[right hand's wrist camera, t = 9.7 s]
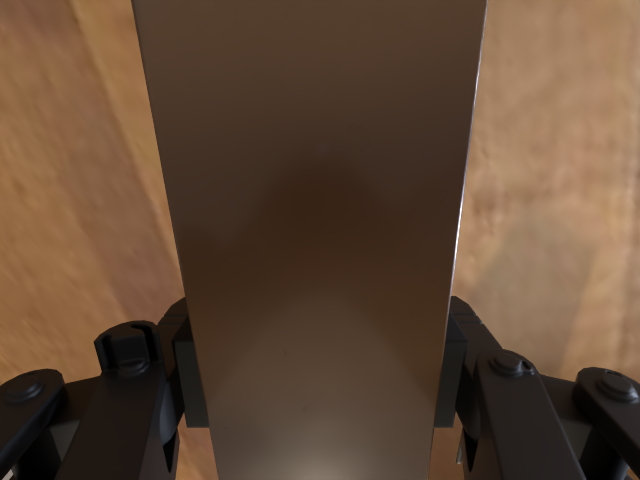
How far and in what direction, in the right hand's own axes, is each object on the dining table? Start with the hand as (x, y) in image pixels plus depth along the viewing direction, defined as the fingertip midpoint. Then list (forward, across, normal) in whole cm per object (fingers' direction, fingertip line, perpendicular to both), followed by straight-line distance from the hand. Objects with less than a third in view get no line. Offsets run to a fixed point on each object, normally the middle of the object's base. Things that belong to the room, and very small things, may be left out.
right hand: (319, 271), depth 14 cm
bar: (+1, 0, -18) cm, 18 cm away
